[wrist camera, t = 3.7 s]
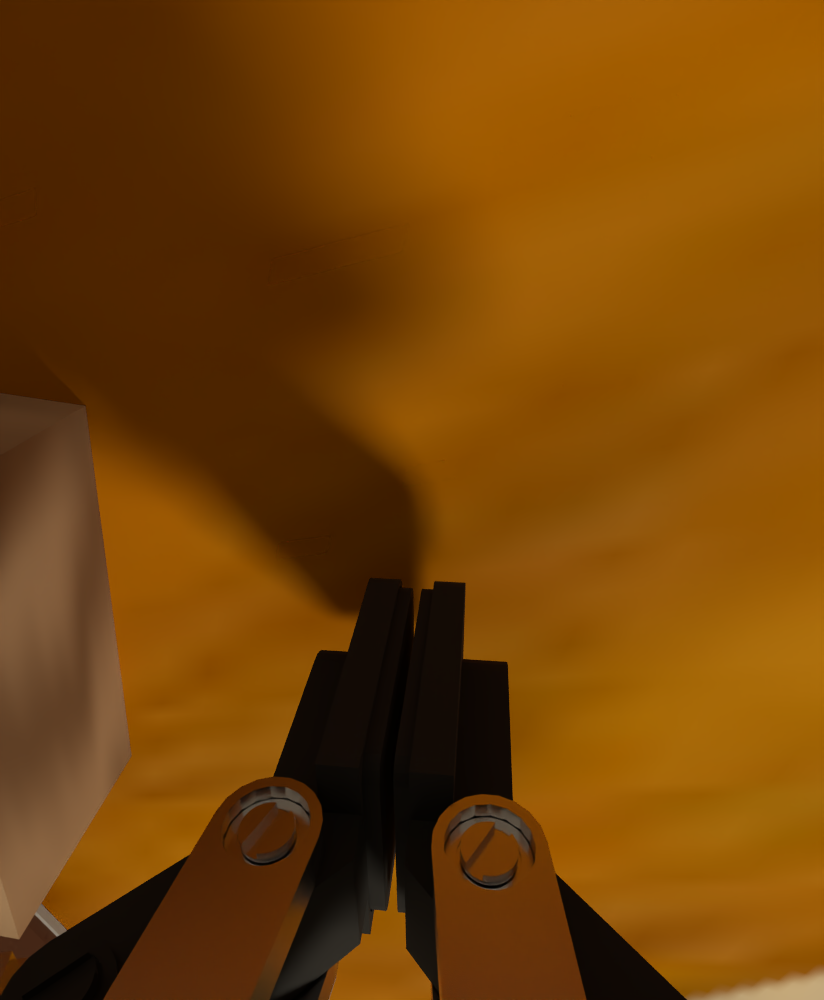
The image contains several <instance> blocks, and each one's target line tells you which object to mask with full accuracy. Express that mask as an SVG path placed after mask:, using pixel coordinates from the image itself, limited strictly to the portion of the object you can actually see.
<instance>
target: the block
mask: <svg viewBox="0 0 824 1000" xmlns="http://www.w3.org/2000/svg"><path fill="white" fill-rule="evenodd" d="M130 757H131V749H130V741H129V734H128V726H127V718H126V711H125V703H124V696H123V688H122V680H121V673H120V665H119V657H118V650H117V642H116V634H115V627H114V619H113V612H112V604H111V596H110V589H109V581H108V573H107V566H106V558H105V551H104V543H103V535H102V528H101V520H100V512H99V505H98V497H97V490H96V482H95V474H94V467H93V459H92V451H91V444H90V436H89V428H88V421H87V413H86V406H84V405H77V404H71V403H64V402H57V401H51V400H44V399H37V398H30V397H24V396H17V395H10V394H4V393H0V936H4V937H9V938H14V939H20V937H21V936H22V934H23V933H24V931H25V929H26V928H27V926H28V924H29V923H30V921H31V919H32V918H33V916H34V915H35V913H36V911H37V910H38V908H39V906H40V905H41V903H42V901H43V900H44V898H45V897H46V895H47V893H48V892H49V890H50V888H51V887H52V885H53V883H54V882H55V880H56V879H57V877H58V875H59V874H60V872H61V870H62V869H63V867H64V865H65V864H66V862H67V861H68V859H69V857H70V856H71V854H72V852H73V851H74V849H75V847H76V846H77V844H78V843H79V841H80V839H81V838H82V836H83V834H84V833H85V831H86V829H87V828H88V826H89V825H90V823H91V821H92V820H93V818H94V816H95V815H96V813H97V811H98V810H99V808H100V807H101V805H102V803H103V802H104V800H105V798H106V797H107V795H108V793H109V792H110V790H111V789H112V787H113V785H114V784H115V782H116V780H117V779H118V777H119V775H120V774H121V772H122V771H123V769H124V767H125V766H126V764H127V762H128V761H129V759H130Z"/></svg>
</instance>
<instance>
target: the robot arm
mask: <svg viewBox="0 0 824 1000" xmlns="http://www.w3.org/2000/svg"><path fill="white" fill-rule="evenodd" d="M464 615H465V583H458V582H438V581H435V582H434V588H433V589H422V591H421V597H420V603H419V610H418V616H417V622H416V628H415V634H414V612H413V589H412V588H402V581H401V580H400V579H381V578H370V579H369V582H368V585H367V588H366V592H365V595H364V599H363V602H362V605H361V609H360V612H359V616H358V619H357V622H356V626H355V629H354V633H353V636H352V639H351V643H350V646H349V650H348V652H343V651H327V650H321V651H320V652H319V653H318V654H317V656H316V659H315V661H314V664H313V667H312V670H311V672H310V675H309V678H308V681H307V684H306V686H305V689H304V692H303V695H302V698H301V700H300V703H299V706H298V709H297V712H296V714H295V717H294V720H293V723H292V726H291V728H290V731H289V734H288V737H287V740H286V743H285V745H284V748H283V751H282V754H281V757H280V759H279V762H278V765H277V768H276V771H275V773H274V776H273V777H269V778H263V779H258V780H255V781H253V782H251V783H249V784H246V785H244V786H242V787H240V788H239V789H238V790H236V791H235V792H234V793H232V794H231V795H230V796H228V797H227V798H226V799H225V801H224V802H223V803H222V804H221V806H220V807H219V808H218V809H217V811H216V812H215V814H214V815H213V817H212V819H211V820H210V822H209V824H208V825H207V827H206V829H205V830H204V832H203V834H202V835H201V837H200V839H199V840H198V842H197V844H196V845H195V847H194V849H193V850H192V852H191V854H190V855H188V856H187V857H185V858H184V859H182V860H180V861H179V862H177V863H175V864H174V865H172V866H171V867H169V868H167V869H166V870H164V871H162V872H161V873H159V874H158V875H156V876H154V877H153V878H151V879H150V880H148V881H146V882H145V883H143V884H141V885H140V886H138V887H137V888H135V889H133V890H132V891H130V892H129V893H127V894H125V895H124V896H122V897H120V898H119V899H117V900H116V901H114V902H112V903H111V904H109V905H108V906H106V907H104V908H103V909H101V910H99V911H98V912H96V913H95V914H93V915H91V916H90V917H88V918H87V919H85V920H83V921H82V922H80V923H78V924H77V925H75V926H74V927H72V928H70V929H69V930H67V931H66V932H64V933H62V934H61V935H59V936H57V937H56V938H54V939H53V940H51V941H49V942H48V943H47V944H45V945H44V946H43V947H42V948H40V949H39V950H38V951H36V952H35V953H34V954H32V955H31V956H30V957H25V958H18V959H16V958H15V956H14V954H13V952H12V951H8V952H1V953H0V1000H329V997H330V994H331V991H332V988H333V985H334V982H335V979H336V974H337V969H338V963H339V960H341V959H342V958H343V957H344V956H346V955H347V954H348V953H349V952H350V951H352V950H353V949H354V948H355V947H356V946H358V945H359V944H360V941H361V935H362V933H364V934H370V932H371V926H372V920H373V913H374V910H384V911H386V910H387V907H388V902H389V895H390V888H391V881H392V874H393V866H394V859H395V852H396V877H397V906H398V912H403V913H405V917H406V949H407V950H408V952H409V953H410V954H411V956H412V957H413V958H414V960H415V961H416V962H417V964H418V965H419V966H420V968H421V969H422V970H423V972H424V973H425V974H426V976H427V977H428V978H429V980H430V981H431V1000H686V999H685V998H684V997H683V996H682V995H681V994H680V993H679V992H678V991H677V990H676V989H675V988H674V987H673V986H672V985H671V984H670V983H669V982H668V981H667V980H666V979H665V978H664V977H663V976H662V975H660V974H659V973H658V972H657V971H656V970H655V969H654V968H653V967H652V966H651V965H650V964H649V963H648V962H647V961H646V960H645V959H644V958H643V957H642V956H641V955H640V954H639V953H638V952H637V951H636V950H635V949H633V948H632V947H631V946H630V945H629V944H628V943H627V942H626V941H625V940H624V939H623V938H622V937H621V936H620V935H619V934H618V933H617V932H616V931H615V930H614V929H613V928H612V927H611V926H610V925H609V924H608V923H607V922H605V921H604V920H603V919H602V918H601V917H600V916H599V915H598V914H597V913H596V912H595V911H594V910H593V909H592V908H591V907H590V906H589V905H588V904H587V903H586V902H585V901H584V900H583V899H582V898H581V897H580V896H579V895H577V894H576V893H575V892H574V891H573V890H572V889H571V888H570V887H569V886H568V885H567V884H566V883H565V882H564V881H563V880H562V879H561V878H560V877H559V876H558V875H557V874H556V873H555V870H554V866H553V862H552V858H551V854H550V850H549V846H548V842H547V840H546V837H545V835H544V832H543V830H542V828H541V825H540V824H539V823H538V822H537V821H536V819H535V818H534V817H533V816H532V814H531V813H530V812H529V811H527V810H526V809H525V808H523V807H522V806H520V805H519V804H517V803H516V802H514V801H513V795H512V768H511V740H510V713H509V686H508V665H507V662H499V661H483V660H468V659H463V645H464Z"/></svg>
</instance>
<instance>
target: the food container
mask: <svg viewBox="0 0 824 1000" xmlns="http://www.w3.org/2000/svg"><path fill="white" fill-rule="evenodd" d="M66 931H67V930H66V929H65V928H64V927H63V926H62V925H61V924H60V923H59V922H58V921H57V919H56V918H55V917H54V916H53V915H52V914H51V913H50V912H49V911H48V910H47V909H46V908H45V907H44V906H43V905H42V904H41V905H40V906H39V908H38V910H37V911H36V913H35V915H34V916H33V918H32V919H31V921H30V923H29V924H28V926H27V928H26V929H25V931H24V933H23V934H22V936H21V937H20V939H14V938H9V937H4V936H0V953H1V952H8V951H12V952H13V954H14V956H15V958H16V959H18V958H25V957H30V956H31V955H32V954H34V953H35V952H36V951H38V950H39V949H40V948H42V947H43V946H44V945H45V944H47V943H48V942H49V941H51V940H53V939H54V938H56V937H57V936H59V935H61V934H62V933H64V932H66Z"/></svg>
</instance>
